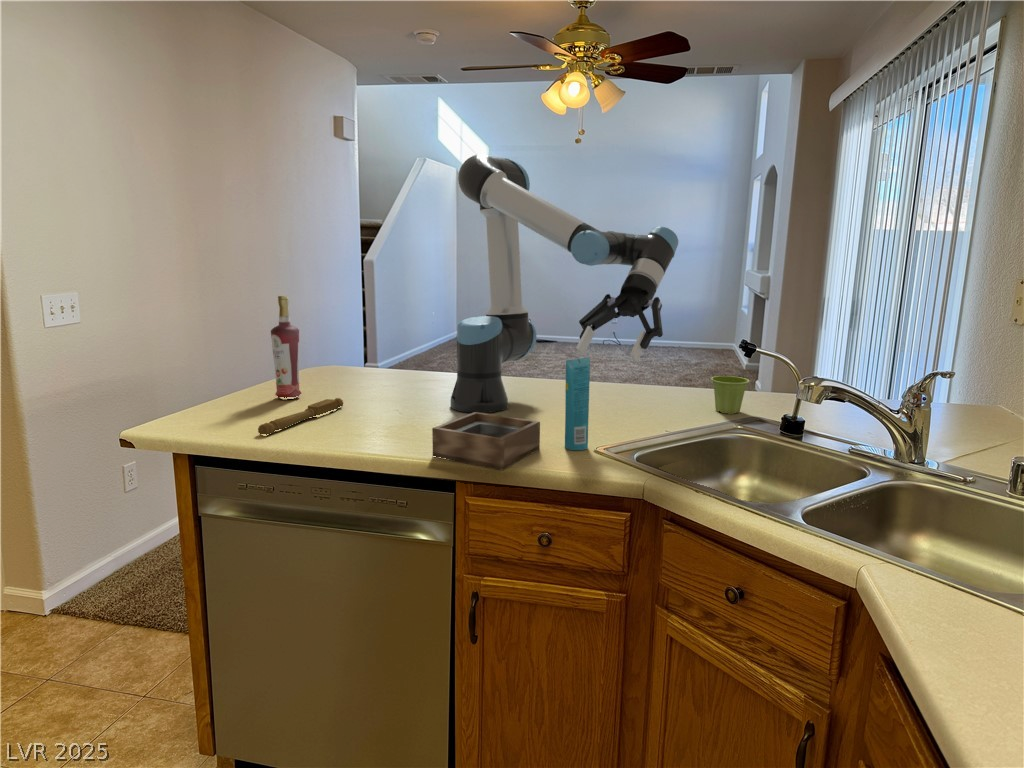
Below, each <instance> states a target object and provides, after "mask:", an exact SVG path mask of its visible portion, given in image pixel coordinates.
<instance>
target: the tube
mask: <svg viewBox="0 0 1024 768" xmlns="http://www.w3.org/2000/svg"><path fill="white" fill-rule="evenodd" d="M590 371H591V358H590V356H585V357H580V358H572V359H566V361H565V402H564V403H565V410H564V414H565V415H564V418H565V419H564V420H565V421H564V423H565V424H564V448H565V449H566V450H570V451H585V450H587V449H588V447H589V411H590V380H591V379H590V378H591V376H590V374H591V372H590Z"/></svg>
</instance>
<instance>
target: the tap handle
mask: <svg viewBox="0 0 1024 768" xmlns="http://www.w3.org/2000/svg"><path fill="white" fill-rule="evenodd" d="M340 406H342V407H344V400H343V399H341V398H339V397H335V398H334V399H323V400H320V401H318V402H317V401H316V402H315V403H312V404H309V405H307V408H306V409H304V410H303V411H300V412H297V413H293V414H290V415H287V416H283V417H280V418H276V419H274V420H271V421H269V422H265V423H263V424H260V425H259V426H258V428H257V432H258V434H259V433H260V434H266V435H267V434H270V433H273V434H274V433H275V432H274V431H275V430H279V429H283V428H285V427H288V426H290V425H292V424H295V423H297V422H299V421H302V420H304V419H307V418H309V417H313V416H316V415H320V414H323V413H326V412H328V411H331V410H334V409H337V408H338V407H340ZM307 420H308V419H307ZM302 422H303V421H302ZM295 425H296V424H295ZM260 434H259V435H260Z"/></svg>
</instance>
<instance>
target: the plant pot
mask: <svg viewBox="0 0 1024 768" xmlns="http://www.w3.org/2000/svg"><path fill="white" fill-rule="evenodd" d="M710 380H711V381H712V385H713V392H714V406H715V407H714V408H715V411H716V412H717V411H718V412H719V411H720V413H722V414H724V413H728V414H727V415H733V414H734V413H735V414H739V413H741V407H742V403H743V401H744V400H743V399H744V395H745V392H746V389H747V386H748V383H750V380H749V378H745V377H740V376H732V375H716V376H712V377H711V378H710ZM718 412H717V413H718Z"/></svg>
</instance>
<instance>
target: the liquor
mask: <svg viewBox="0 0 1024 768" xmlns="http://www.w3.org/2000/svg"><path fill="white" fill-rule="evenodd" d="M289 301H290V300H289V295H277V303H278V307H279V313H278V314H279V315H278V325H275V326H274V327H273V328H271V329H270V338H271V346H272V347H271V348H272V356H273V363H274V364H273V365H274V375H275V384H276V385H275V388H276V392H275V397H277V396H278V397H284V398H285V397H286V398H287V397H296V396H298V397H300V395H301V394H302V392H301V389H300V329H299V328H298V327H296V326H294V325H292V324H291V318H290V314H289V313H290V312H289V303H290V302H289ZM278 397H277V398H278Z"/></svg>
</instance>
